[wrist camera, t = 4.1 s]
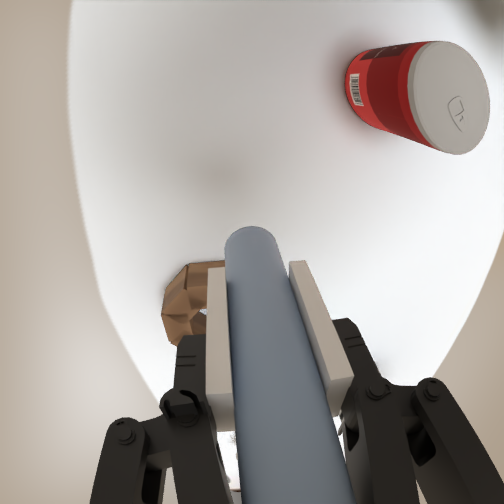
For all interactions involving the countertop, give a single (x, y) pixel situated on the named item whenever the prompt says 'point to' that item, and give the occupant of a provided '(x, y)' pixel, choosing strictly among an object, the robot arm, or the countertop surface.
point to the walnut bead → (187, 301)
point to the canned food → (422, 94)
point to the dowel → (277, 385)
